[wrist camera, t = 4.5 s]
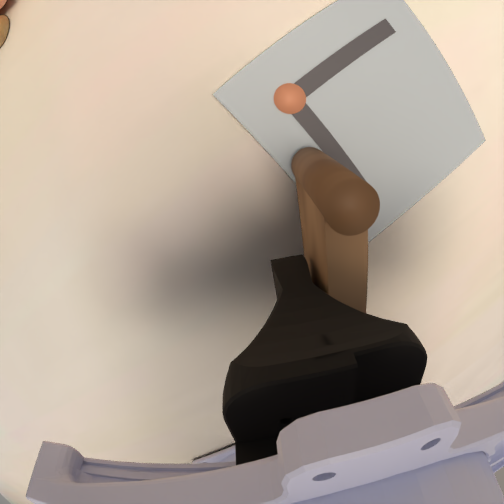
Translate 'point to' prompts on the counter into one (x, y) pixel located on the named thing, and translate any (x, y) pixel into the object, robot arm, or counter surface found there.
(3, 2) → the grandmother figurine
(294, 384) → the robot arm
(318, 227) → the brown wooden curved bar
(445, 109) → the card
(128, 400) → the counter surface
